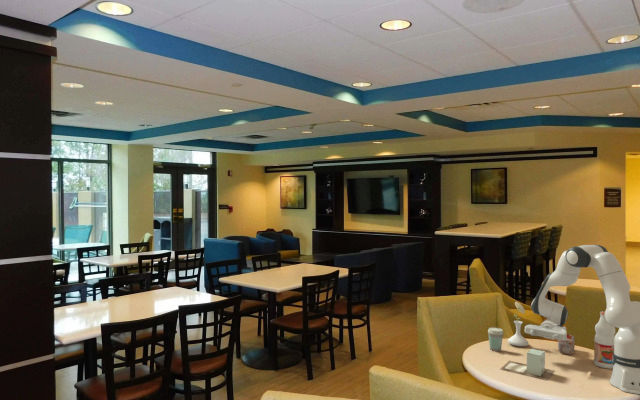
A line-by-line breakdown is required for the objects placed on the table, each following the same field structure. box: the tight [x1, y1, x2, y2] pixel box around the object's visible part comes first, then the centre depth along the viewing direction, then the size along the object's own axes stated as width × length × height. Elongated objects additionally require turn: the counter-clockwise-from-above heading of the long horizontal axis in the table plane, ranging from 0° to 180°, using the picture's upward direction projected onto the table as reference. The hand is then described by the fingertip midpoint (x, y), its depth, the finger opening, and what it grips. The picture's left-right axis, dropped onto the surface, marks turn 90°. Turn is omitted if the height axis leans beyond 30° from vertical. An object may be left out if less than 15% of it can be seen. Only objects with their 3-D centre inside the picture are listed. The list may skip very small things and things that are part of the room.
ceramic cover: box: [526, 348, 546, 376], centre depth 228 cm, size 6×8×10 cm
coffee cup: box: [487, 327, 505, 353], centre depth 263 cm, size 8×8×12 cm
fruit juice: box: [593, 310, 616, 369], centre depth 241 cm, size 9×9×28 cm
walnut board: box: [499, 360, 555, 382], centre depth 231 cm, size 22×16×1 cm
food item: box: [557, 333, 576, 356], centre depth 262 cm, size 14×8×10 cm, turn 148°
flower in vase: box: [507, 301, 529, 347], centre depth 274 cm, size 13×11×25 cm
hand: (542, 336), depth 239 cm, fingers open, 8 cm apart
